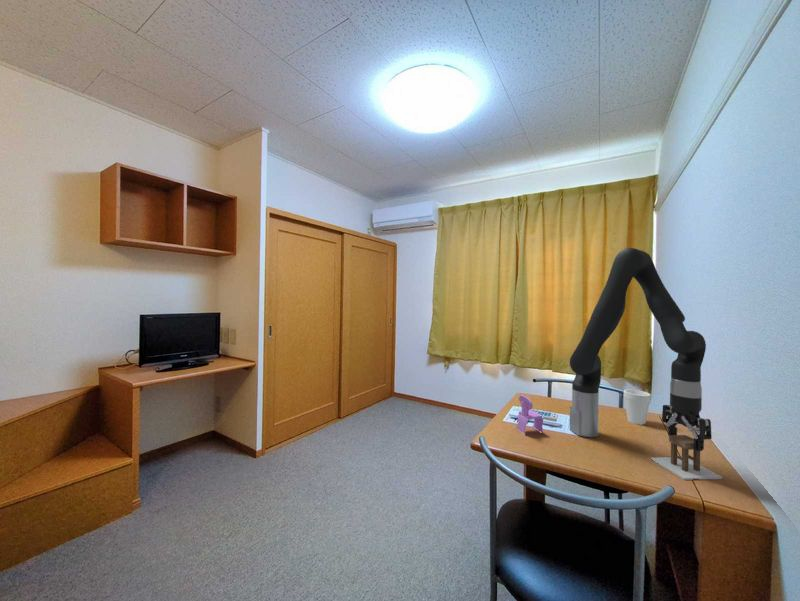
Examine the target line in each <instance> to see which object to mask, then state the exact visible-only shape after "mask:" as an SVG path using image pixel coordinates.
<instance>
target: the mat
mask: <svg viewBox="0 0 800 601" xmlns="http://www.w3.org/2000/svg"><path fill="white" fill-rule="evenodd" d="M651 459H652V460H653V461H652V460H651ZM650 460H651V461H652V462H654V461H655V462H654V463H656V464H657V463H658V464H657V465H658V466H661V467H662V468H663V469H666V470H667V471H669V472H670V473H673V474H674V475H676V476H678V477H679V478H681V479H682V480H684V481H687V480H688V481H689V480H690V481H692V480H693V479H699V480H701V481H702V480H723V476H721V475H720V474H718V473H716V472H713V471H711V469H708V468H706V467H704V466H702V465H701V464H700V471H696V470H694V469H693V460H692V459H689V461H688V471H683V470H682V460H680V459H678V458H677V465H673V464H671V456H670V457H666V456H665V457H664V456H663V457H662V456H661V457H650ZM693 481H694V480H693Z"/></svg>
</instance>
